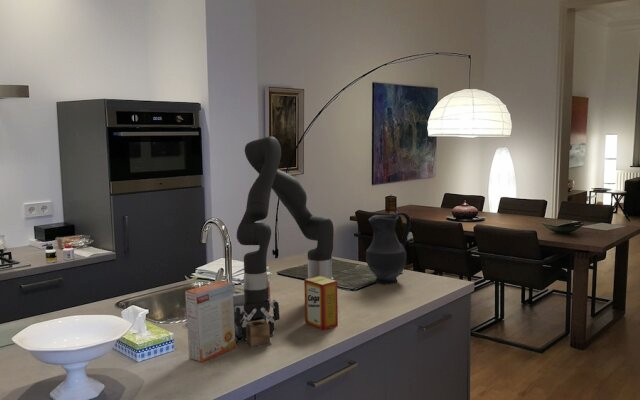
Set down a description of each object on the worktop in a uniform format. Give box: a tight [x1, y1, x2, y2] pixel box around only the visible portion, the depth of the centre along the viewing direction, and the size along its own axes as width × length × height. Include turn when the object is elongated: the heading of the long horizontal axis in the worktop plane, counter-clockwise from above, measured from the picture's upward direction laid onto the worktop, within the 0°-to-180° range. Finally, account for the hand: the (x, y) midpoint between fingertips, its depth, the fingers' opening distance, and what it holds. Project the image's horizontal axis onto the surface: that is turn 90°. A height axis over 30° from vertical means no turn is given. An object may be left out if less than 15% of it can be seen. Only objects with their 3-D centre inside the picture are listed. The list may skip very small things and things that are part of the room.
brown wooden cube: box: [245, 319, 271, 346], centre depth 186 cm, size 6×6×6 cm
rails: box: [235, 333, 274, 343], centre depth 197 cm, size 13×14×1 cm
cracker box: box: [184, 280, 236, 363], centre depth 178 cm, size 14×6×21 cm, turn 141°
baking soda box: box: [304, 276, 339, 331], centre depth 202 cm, size 10×6×16 cm
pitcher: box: [365, 211, 412, 285], centre depth 255 cm, size 17×21×30 cm
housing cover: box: [233, 292, 267, 338], centre depth 196 cm, size 10×11×11 cm
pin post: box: [243, 339, 272, 349], centre depth 187 cm, size 7×7×4 cm
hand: (257, 335), depth 187 cm, fingers open, 8 cm apart
